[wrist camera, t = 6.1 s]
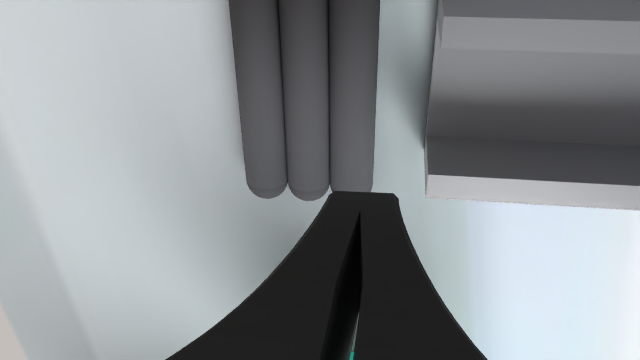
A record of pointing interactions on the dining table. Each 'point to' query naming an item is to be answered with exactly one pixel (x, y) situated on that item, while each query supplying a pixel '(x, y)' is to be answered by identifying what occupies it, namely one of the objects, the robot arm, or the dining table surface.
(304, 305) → the robot arm
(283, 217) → the dining table surface
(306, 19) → the grey ridged block
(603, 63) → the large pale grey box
